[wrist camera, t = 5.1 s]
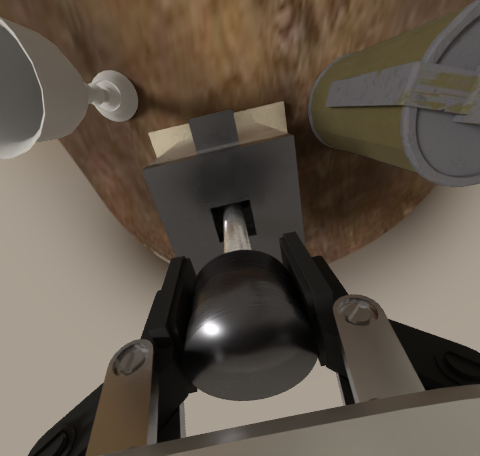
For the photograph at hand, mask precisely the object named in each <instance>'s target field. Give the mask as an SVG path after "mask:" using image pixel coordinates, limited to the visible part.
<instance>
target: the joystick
mask: <svg viewBox="0 0 480 456" xmlns="http://www.w3.org/2000/svg"><path fill="white" fill-rule="evenodd" d="M148 134H149V136H150V139H151V142H152V145H153V148H154V150H155V153H156V156H157V159H156V160H155V161H153V162H152V163H151V164H149V165H148V166H147V167H146V168H144V169H143V170H142V172H143V175H144V177H145V180H146V182H147V185H148V187H149V190H150V192H151V195H152V197H153V200H154V203H155V205H156V208H157V210H158V213H159V215H160V218H161V220H162V223H163V225H164V228H165V230H166V233H167V235H168V238H169V240H170V243H171V246H172V248H173V251H174V253H175V256H176V257H181V256H185V257H186V258H190V260H191V262H192V265H193V268H194V270H195V273H196V276H197V275H198V273H199V272H200V270H201V269H202V268H203V267H204V266H205V265H206V264H207V263H208V262H209V261H211V260H212V259H214V258H215V257H217V256H219V255H222V254H224V222H223V205H227V204H231V203H236V202H240V201H241V206H242V211H243V215H244V220H245V224H246V229H247V233H248V238H249V242H250V247H251V250H255V251H260V252H264V253H267V254H269V255H271V256H273V257H274V258H276V259H277V260H279V261H280V262H281V263H282V264H283V262H282V256H281V250H280V243H279V238H282V237H283V234H285V233H289V232H294V231H295V232H296V233H297V235H298V236H299V238H300V240H301V241H302V243H303V244H304V246H305V239H304V229H303V219H302V209H301V200H300V190H299V180H298V170H297V160H296V150H295V141H294V135H292V134H289V133H287V125H286V117H285V108H284V101H281V102H277V103H273V104H268V105H264V106H260V107H256V108H251V109H247V110H243V111H239V112H234V113H233V109H228V110H223V111H219V112H215V113H211V114H206V115H202V116H198V117H195V118H192V119H189V120H188V124H183V125H179V126H175V127H171V128H166V129H162V130H158V131H154V132H150V133H148ZM245 200H246V201H245ZM218 206H219V207H218ZM214 207H215V208H214Z"/></svg>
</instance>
